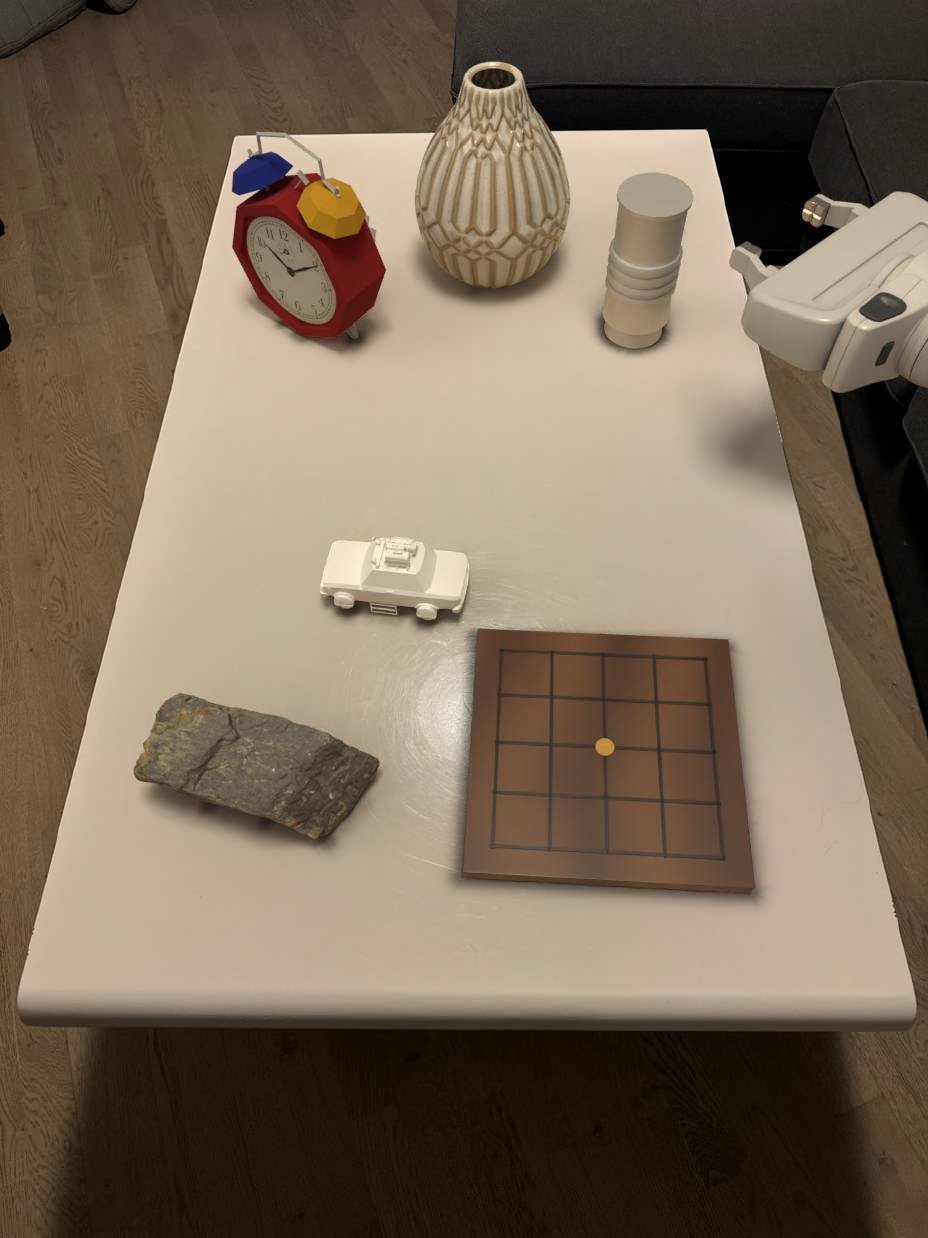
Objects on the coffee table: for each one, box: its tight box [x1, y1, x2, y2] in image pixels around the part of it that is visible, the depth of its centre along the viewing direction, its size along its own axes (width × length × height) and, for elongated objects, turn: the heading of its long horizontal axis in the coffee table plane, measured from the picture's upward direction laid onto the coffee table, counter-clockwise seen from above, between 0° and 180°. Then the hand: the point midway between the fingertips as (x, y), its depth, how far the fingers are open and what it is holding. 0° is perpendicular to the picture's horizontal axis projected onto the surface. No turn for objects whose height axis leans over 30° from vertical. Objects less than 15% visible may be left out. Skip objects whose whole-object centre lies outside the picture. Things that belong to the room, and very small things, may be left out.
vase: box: [414, 61, 571, 289], centre depth 95 cm, size 16×16×20 cm
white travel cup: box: [601, 172, 694, 349], centre depth 90 cm, size 7×7×15 cm
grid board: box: [461, 628, 756, 894], centre depth 70 cm, size 20×20×1 cm
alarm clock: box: [231, 131, 387, 340], centre depth 90 cm, size 15×9×20 cm, turn 54°
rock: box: [133, 692, 380, 839], centre depth 68 cm, size 17×7×10 cm
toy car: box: [319, 535, 470, 621], centre depth 76 cm, size 6×12×7 cm, turn 81°
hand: (773, 228), depth 78 cm, fingers open, 8 cm apart
